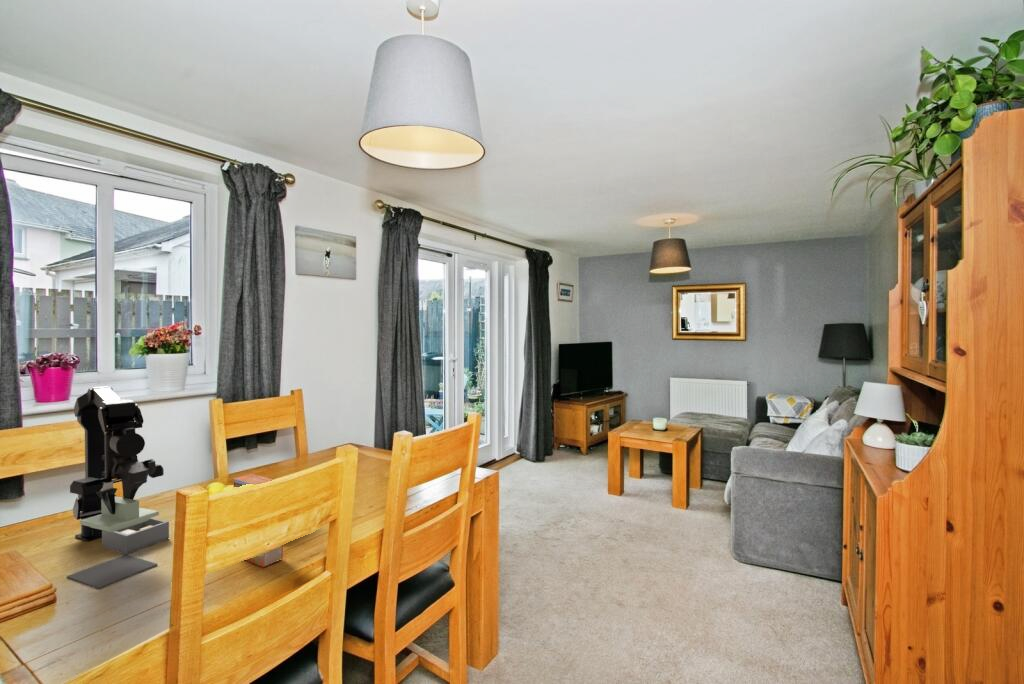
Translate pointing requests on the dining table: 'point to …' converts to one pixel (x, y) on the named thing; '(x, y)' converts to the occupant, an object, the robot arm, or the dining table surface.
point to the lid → (119, 515)
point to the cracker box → (272, 554)
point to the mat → (111, 571)
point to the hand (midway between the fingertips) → (120, 511)
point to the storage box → (136, 536)
